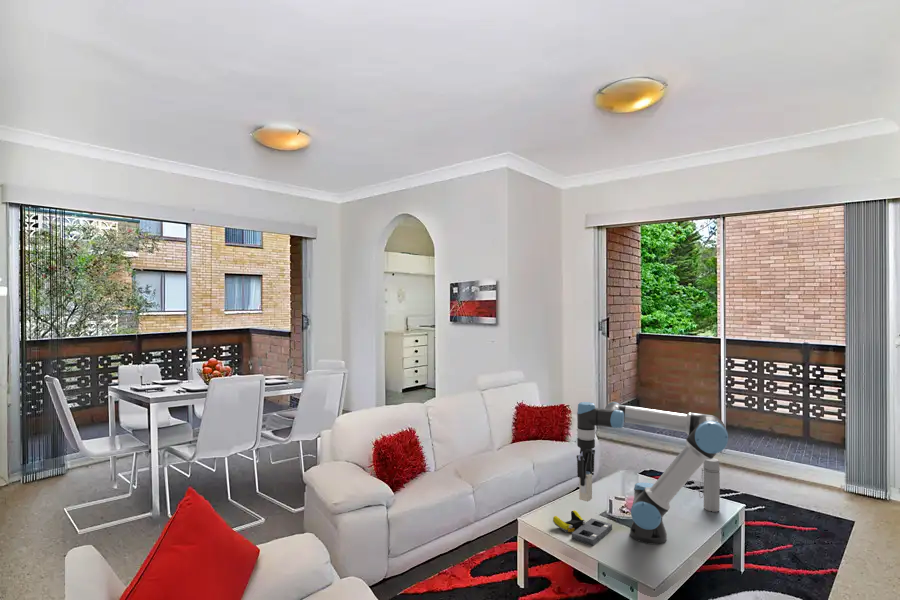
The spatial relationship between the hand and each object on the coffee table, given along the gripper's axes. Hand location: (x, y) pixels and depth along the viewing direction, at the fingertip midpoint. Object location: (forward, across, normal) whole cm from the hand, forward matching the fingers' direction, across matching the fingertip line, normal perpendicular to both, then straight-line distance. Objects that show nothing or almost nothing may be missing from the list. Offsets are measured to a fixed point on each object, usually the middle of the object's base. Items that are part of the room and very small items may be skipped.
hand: (585, 490), depth 230 cm
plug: (+4, 0, 0) cm, 4 cm away
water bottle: (+21, -69, +33) cm, 79 cm away
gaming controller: (+22, -6, -10) cm, 25 cm away
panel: (+21, -6, 0) cm, 22 cm away
